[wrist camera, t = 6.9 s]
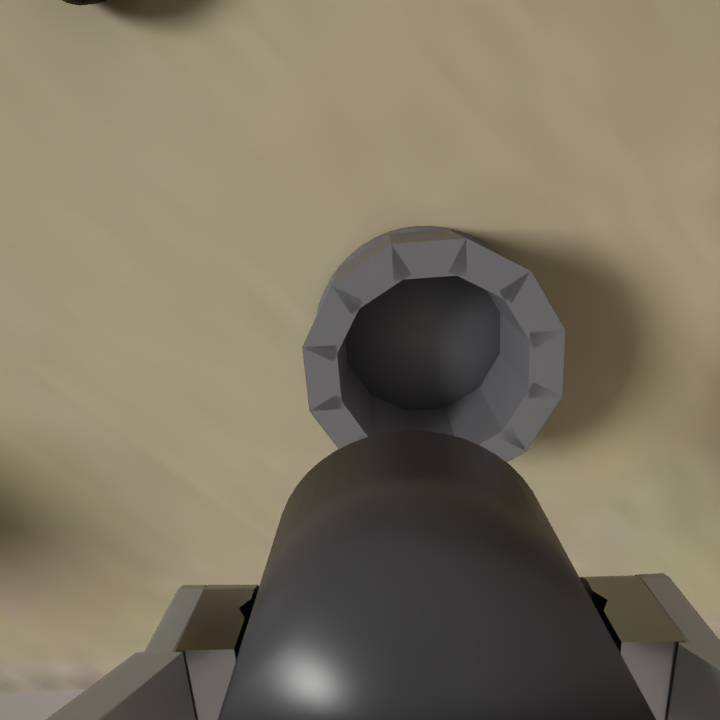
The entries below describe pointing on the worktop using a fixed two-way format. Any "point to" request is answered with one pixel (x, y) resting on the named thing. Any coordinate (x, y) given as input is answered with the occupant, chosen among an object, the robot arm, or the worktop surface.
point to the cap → (423, 599)
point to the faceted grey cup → (434, 344)
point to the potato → (84, 1)
